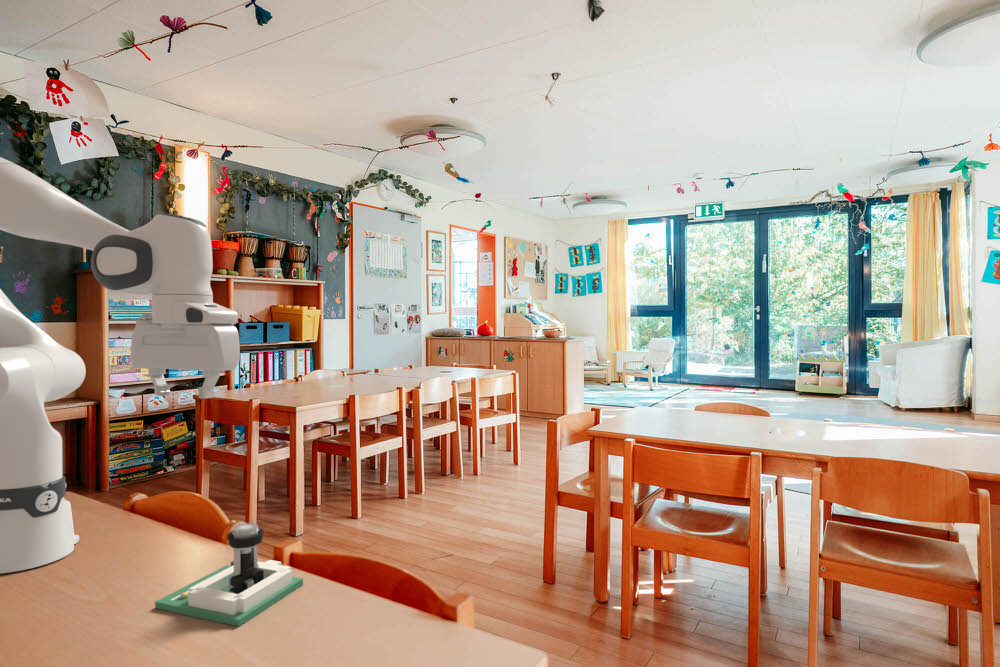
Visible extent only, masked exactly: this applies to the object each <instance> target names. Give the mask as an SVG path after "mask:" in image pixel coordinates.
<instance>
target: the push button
mask: <svg viewBox="0 0 1000 667" xmlns="http://www.w3.org/2000/svg"><path fill="white" fill-rule="evenodd" d="M264 534H265V531H264V529H263V528H262V527H259V525H258V524H257V523H253V522H246V523H245V522H244V523H241V524H237V525H235V526H234V527H233V529H232V531H230V532H229V533H228V534H227V535H226V539H227V541H228V546H229V547H231V548H232V549H233V561H234V572H233V575H232V576H230V577H229V585H228V586H227V587H224V588H222V589H221V590H222V591H224V590H227V589H229V591H228V592H230V593H235V594H240V593H241V592H243V591H245V590H246V589H248V588H250V587H252V586H253V585H255V584H257V583H258V582H260V581H262V580H264V571H263V570H261V569H258V568H257V567H259V565H258V564H257V561H258V545H259V544H261V543H262V541H263V536H264ZM225 588H226V589H225Z"/></svg>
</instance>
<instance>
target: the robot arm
mask: <svg viewBox="0 0 1000 667" xmlns="http://www.w3.org/2000/svg"><path fill="white" fill-rule="evenodd" d="M0 231H2V232H5V233H8V234H12V235H15V236H18V237H22V238H26V239H33V240H38V241H43V242H44V241H45V242H50V243H52V242H53V243H56V244H64V245H69V246H74V247H78V248H83V249H86V250H90V251H92V253H91V255H90V256H91V257H90V268H91V271H92V274H93V276H94V278H95V280H96V281H97V282H98V283H99V285H100V286H102V287H104V288H105V289H107V290H110V291H113V292H118V293H124V294H134V295H147V296H151V308H152V309H151V310H152V311H151V313H143V314H142V315H141V316H139V317H138V319H137V320H136V321H135V328H133V329H134V330H133V332H132V336H131V337H132V338H131V343H130V345H131V346H130V357H129V358H130V363H131V365H132V367H133V368H134V369H135V368H136V369H148V377H149V378H150V380H151V382H152V384H153V386H154V395H155V396H157V397H164V396H165V397H166V396H169V395H170V394H171V390H170V389H171V384H168V383H167V381H166V379H165V376H164V375H166V374H167V372H166V370H186V371H187V370H188V371H189V370H190V371H202V377H203V378H204V380H203V383H202V386H201V387H197V392H198V394H197V395H198V396H197V397H198V398H199V399H211V398H213V397H215V396H214V395H215V393H214V392H215V389H214V388H215V386H216V384H217V382H218V380H219V379H220V377H221V376H220V375H221V374H220V371H222V372H223V371H224V372H225V371H233V370H235V369H236V368H237V367H238V365H239V363H240V358H241V357H240V356H241V354H240V350H241V349H240V348H241V346H240V336H239V330H238V329H237V327H236V326H235V325H236V324H237V323H238V321H239V316H238V313H237V311H236V310H233V309H231V308H228V307H226V306H223V305H220V304H218V303H216V302H214V295H213V294H214V293H213V290H212V287H211V277H212V275H213V271H214V270H213V268H214V266H213V265H214V263H213V261H214V260H213V247H212V246H213V245H212V239H211V235H210V234H211V233H210V230H209V228H208V227H207V225H206V224H205V223H204V222H202V221H200V220H199V219H194V218H193V217H187V216H184V215H178V214H175V213H174V214H173V213H166V212H165V213H164V212H163V213H159V214H157V215H155V216H153V217H152V218H151V220H150V221H149V222H147V223H146V224H144V225H142V226H140V227H138V228H134V229H132V230H130V229H129V228H126V227H125V226H122V225H120V224H118V223H116V222H115V221H112V220H111V219H108V218H107V217H104V216H103V215H101V214H99V213H97V212H95V211H94V210H92V209H90V207H87V206H86V205H84V204H83V203H81V202H79V201H77V200H76V199H74V198H73V197H71V196H70V195H68V194H66V193H65V192H63V191H61V190H60V189H58V188H57V187H55V186H54V185H52V184H51V183H49V182H47V181H46V180H44V179H43V178H41V177H39V176H38V175H36V174H35V173H33V172H31V171H30V170H28V169H26V168H24V167H22V166H20V165H18V164H17V163H14V162H12V161H10V160H8V159H5V158H3V157H1V156H0ZM86 370H87V369H86V364H85V362H84V360H83V359H82V357H81V356H80V355H79V354H78V353H77V352H75V351H73V350H71V349H69V348H67V347H65V346H63V345H62V344H60V343H58V342H57V341H56V340H54V339H53V338H52V337H51V336H49V335H48V334H47V333H46V332H45V331H43V329H41V328H39V326H37V325H36V324H35V323H33V321H31V320H30V319H29V318H28V317H26V316H25V315H24V314H23V313H22V312H21V311H20V310H19V309H18V308H17V307H16V306H15V305H14V303H13V302H12V301H11V300H10V299H9V297H8V296H7V295H6V293H4V292H3V290H2V289H1V288H0V574H7V573H14V572H21V571H25V570H29V569H34V568H38V567H42V566H44V565H48V564H51V563H53V562H56V561H58V560H61V559H63V558H65V557H67V556H69V555H70V554H72V552H74V550H75V545H76V544H77V543H79V542H80V540H79V539H80V535H79V534H75V531H74V529H75V528H74V523H73V513H72V506H71V502H70V501H68V499H65V496H66V494H67V482H66V476H65V475H63V437H62V435H61V433H60V432H59V431H58V430H56V429H55V428H54V427H53V426H52V425H51V423H50V420H49V418H48V415H47V412H46V410H45V409H46V408H45V403H48V402H54V401H57V400H60V399H62V398H64V397H66V396H68V395H70V394H71V393H73V392H75V391H76V390H78V389H79V388H80V387H81V385H83V382H84V380H85V378H86V374H87V373H86V372H87V371H86ZM78 541H79V542H78ZM74 544H75V545H74Z"/></svg>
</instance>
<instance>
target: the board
mask: <svg viewBox="0 0 1000 667" xmlns="http://www.w3.org/2000/svg"><path fill="white" fill-rule="evenodd" d="M257 564H258V565H259V567H257V568H258V569H261V570H263V571H264V580H262V581H260V582H258V583H257V584H255V585H253V586H252V587H250V588H248V589H246V590H245V591H243V592H241V593H240V594H235V593H230V592H228V591H229V589H227V590H224V591H222V590H221V589H222V588H224V587H227V586H228V585H229V577H230V576H232V575H233V572H234V565H233V566H231V565H228V564H227V565H225V566H222V567H221V568H219V569H216V570H214V571H212V572H211V573H209V574H206V575H204V576H203V577H201V578H199V579H197V580H195V581H193V582H191V583H190V584H187V585H185V586H183V587H182V588H180V589H177V590H175V591H174V592H171V593H170V594H168V595H165V596H164V597H162V598H160V599H158V600H155V602H154V608H155V609H156V608H158V609H157V610H161V609H163V610H162V611H165V610H167V611H166V612H170V611H171V612H170V613H175V612H176V613H175V614H180V615H184V616H190V617H192V618H199V619H203V620H207V621H211V622H217V623H220V624H225V623H226V624H225V625H229V624H231V625H230V626H234V625H235V626H234V627H241V626H243V625H244V624H245V623H247V622H248V620H249V621H250V620H252V619H253V618H255V617H257V615H260V614H261V613H263V612H264V611H265V610H267V609H268V608H270V607H272V606H273V605H274V604H276V603H278V602H279V601H280V600H282V599H283V597H284V598H285V597H287V596H288V595H290V594H291V593H293V592H294V591H295V590H297V589H299V588H300V587H302V586H303V585H304V579H303V578H301V577H295V576H293V570H292V566H287V565H282V561H278V560H274V559H273V560H272V559H269V560H266V561H265V562H264V561H258V560H257ZM225 589H226V588H225ZM289 593H290V594H289ZM286 595H287V596H286ZM272 604H273V605H272ZM263 610H264V611H263ZM254 616H255V617H254ZM251 618H252V619H251ZM221 622H222V623H221ZM243 623H244V624H243ZM240 625H241V626H240Z"/></svg>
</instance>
